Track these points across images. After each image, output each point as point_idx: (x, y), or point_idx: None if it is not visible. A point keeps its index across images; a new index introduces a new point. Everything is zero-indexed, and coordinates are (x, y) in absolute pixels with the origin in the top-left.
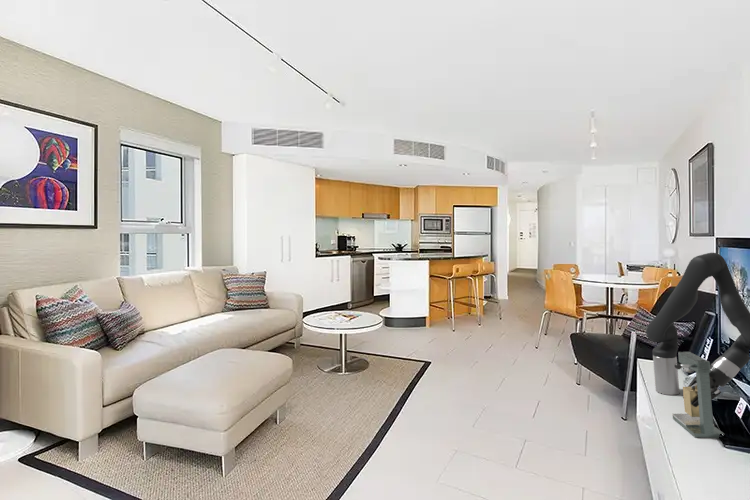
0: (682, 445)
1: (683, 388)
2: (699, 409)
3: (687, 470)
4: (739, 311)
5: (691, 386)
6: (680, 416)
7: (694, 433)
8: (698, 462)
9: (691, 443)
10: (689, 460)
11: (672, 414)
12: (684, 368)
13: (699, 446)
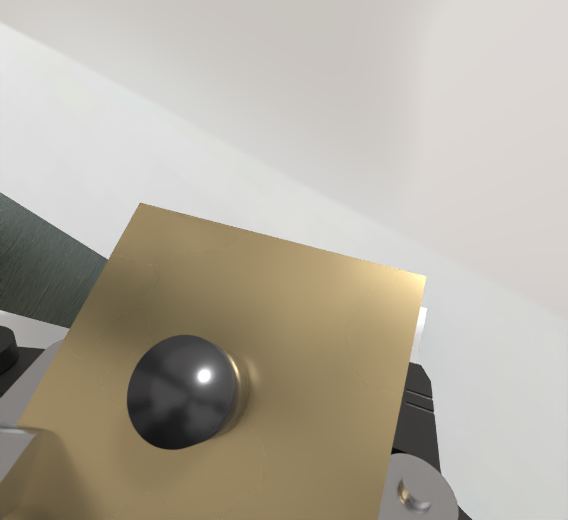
0: (144, 154)
1: (384, 278)
2: (56, 229)
3: (29, 70)
4: None
5: (194, 338)
6: None
7: None
8: (36, 124)
9: (139, 197)
10: (59, 108)
11: (425, 310)
12: None
13: (105, 207)
